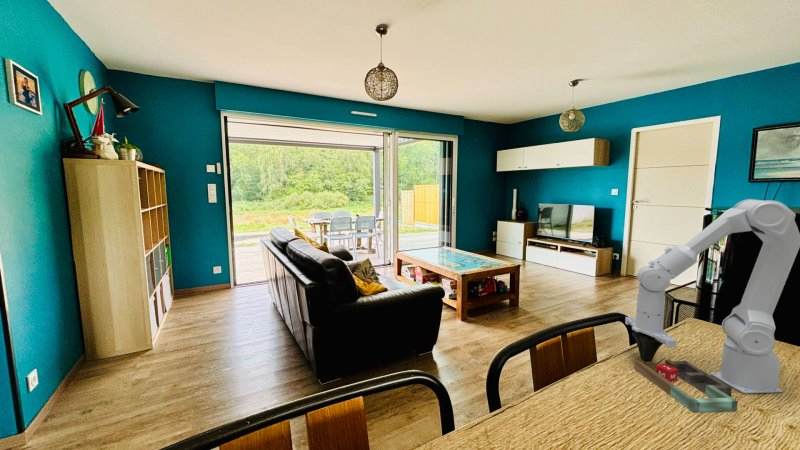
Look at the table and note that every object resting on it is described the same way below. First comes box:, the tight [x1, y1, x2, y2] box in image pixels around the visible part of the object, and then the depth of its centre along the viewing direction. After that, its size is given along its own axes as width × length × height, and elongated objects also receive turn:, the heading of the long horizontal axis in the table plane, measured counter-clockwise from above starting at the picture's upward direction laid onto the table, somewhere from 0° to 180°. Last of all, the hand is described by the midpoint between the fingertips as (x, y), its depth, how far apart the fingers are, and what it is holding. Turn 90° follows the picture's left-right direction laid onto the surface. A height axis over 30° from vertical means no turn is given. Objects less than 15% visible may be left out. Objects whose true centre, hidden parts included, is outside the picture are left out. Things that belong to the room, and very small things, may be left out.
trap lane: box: [633, 359, 738, 413], centre depth 77 cm, size 13×17×2 cm
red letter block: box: [655, 362, 678, 383], centre depth 80 cm, size 3×3×3 cm
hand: (646, 360), depth 87 cm, fingers closed
